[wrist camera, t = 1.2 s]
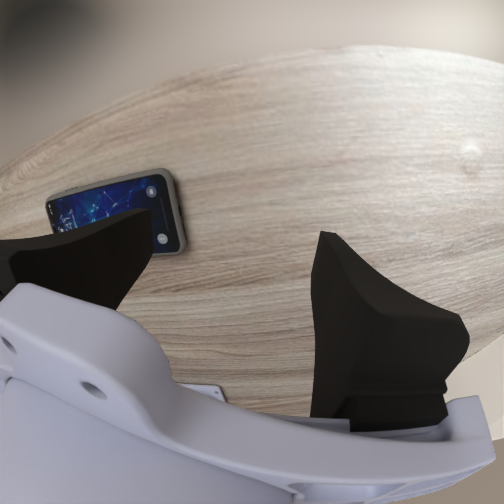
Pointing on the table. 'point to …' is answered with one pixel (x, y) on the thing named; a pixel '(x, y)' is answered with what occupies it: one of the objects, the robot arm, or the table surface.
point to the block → (482, 383)
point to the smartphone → (124, 206)
